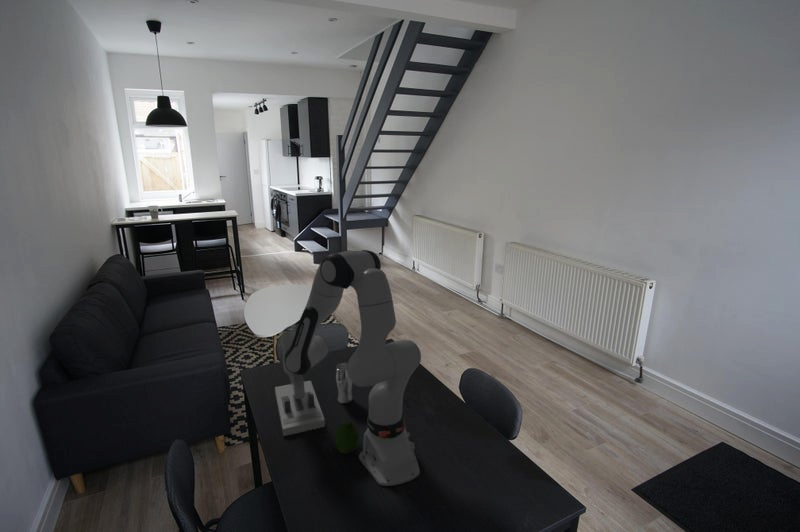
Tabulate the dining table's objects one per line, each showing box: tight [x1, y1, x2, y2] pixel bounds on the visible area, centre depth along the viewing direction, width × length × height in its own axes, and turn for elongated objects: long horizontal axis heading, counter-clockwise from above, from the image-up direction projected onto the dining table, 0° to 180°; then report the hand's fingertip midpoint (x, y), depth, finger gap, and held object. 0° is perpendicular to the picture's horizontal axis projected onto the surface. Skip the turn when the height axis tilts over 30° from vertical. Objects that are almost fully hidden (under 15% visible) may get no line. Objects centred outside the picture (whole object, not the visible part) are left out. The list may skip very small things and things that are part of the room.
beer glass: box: [335, 362, 354, 404], centre depth 172 cm, size 7×7×15 cm
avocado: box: [335, 419, 360, 455], centre depth 142 cm, size 8×8×12 cm
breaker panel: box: [274, 380, 326, 437], centre depth 166 cm, size 30×15×8 cm, turn 21°
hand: (297, 396), depth 166 cm, fingers closed
